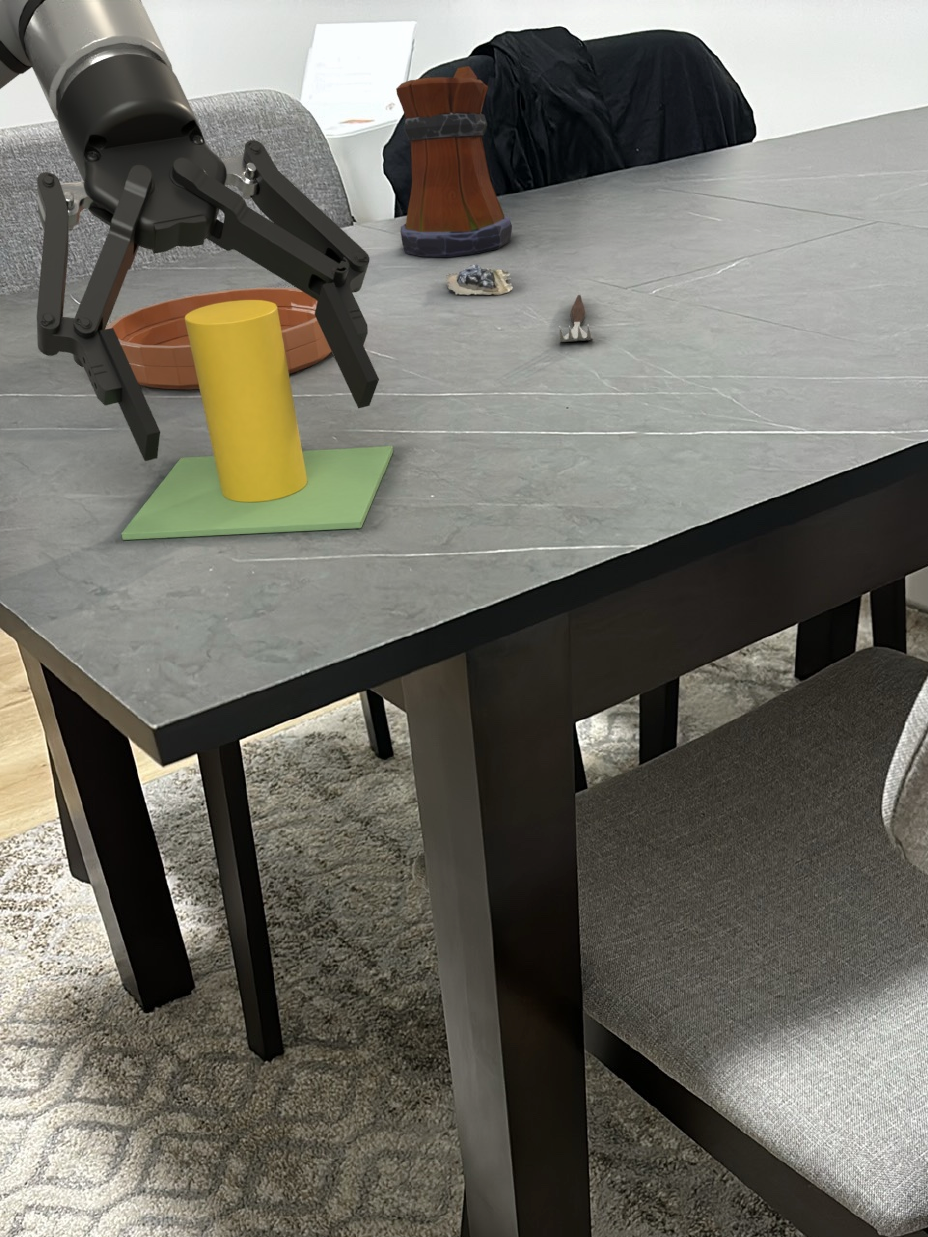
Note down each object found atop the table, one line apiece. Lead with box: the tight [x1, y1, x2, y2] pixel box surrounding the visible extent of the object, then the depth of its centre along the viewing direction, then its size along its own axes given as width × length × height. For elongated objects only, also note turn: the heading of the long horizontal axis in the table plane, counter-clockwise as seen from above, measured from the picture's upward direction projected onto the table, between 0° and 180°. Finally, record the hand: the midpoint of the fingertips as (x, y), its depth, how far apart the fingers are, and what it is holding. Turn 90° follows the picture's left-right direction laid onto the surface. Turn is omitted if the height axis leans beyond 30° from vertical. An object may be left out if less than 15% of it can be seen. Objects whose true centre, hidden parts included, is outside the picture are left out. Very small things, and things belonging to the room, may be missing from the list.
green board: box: [121, 445, 394, 541], centre depth 81 cm, size 14×13×1 cm
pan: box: [105, 287, 332, 390], centre depth 107 cm, size 18×18×3 cm
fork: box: [558, 294, 594, 343], centre depth 107 cm, size 3×16×2 cm, turn 177°
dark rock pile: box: [445, 263, 514, 296], centre depth 120 cm, size 7×8×2 cm
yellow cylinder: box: [185, 300, 307, 502], centre depth 78 cm, size 5×5×10 cm
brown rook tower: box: [395, 66, 513, 258], centre depth 134 cm, size 18×12×15 cm, turn 171°
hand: (264, 420), depth 77 cm, fingers open, 13 cm apart
